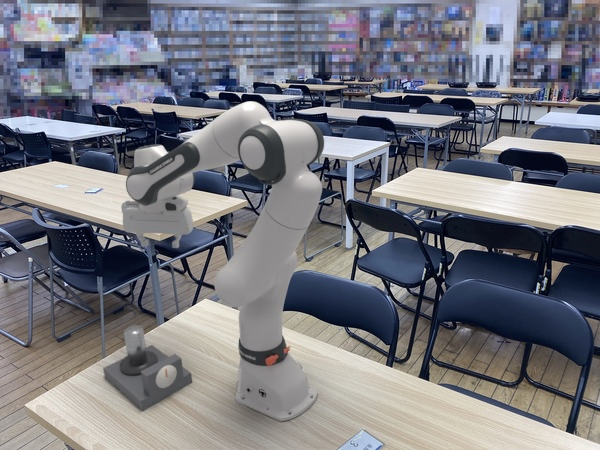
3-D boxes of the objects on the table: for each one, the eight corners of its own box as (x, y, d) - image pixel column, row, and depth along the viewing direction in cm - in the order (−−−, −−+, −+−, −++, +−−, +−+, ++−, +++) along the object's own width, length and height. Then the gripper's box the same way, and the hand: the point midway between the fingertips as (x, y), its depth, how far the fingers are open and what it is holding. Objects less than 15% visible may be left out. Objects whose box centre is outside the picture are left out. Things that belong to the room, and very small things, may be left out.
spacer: (151, 357, 134) (146, 326, 131) (141, 368, 130) (136, 336, 126) (135, 354, 136) (130, 324, 132) (125, 365, 131) (119, 334, 128)
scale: (193, 382, 130) (190, 354, 127) (143, 412, 120) (139, 381, 116) (152, 353, 143) (149, 326, 140) (104, 377, 133) (99, 348, 130)
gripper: (115, 203, 134) (122, 249, 139) (185, 205, 131) (189, 252, 136) (125, 197, 140) (132, 241, 145) (193, 199, 137) (197, 243, 142)
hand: (160, 246), depth 140 cm, fingers open, 8 cm apart
